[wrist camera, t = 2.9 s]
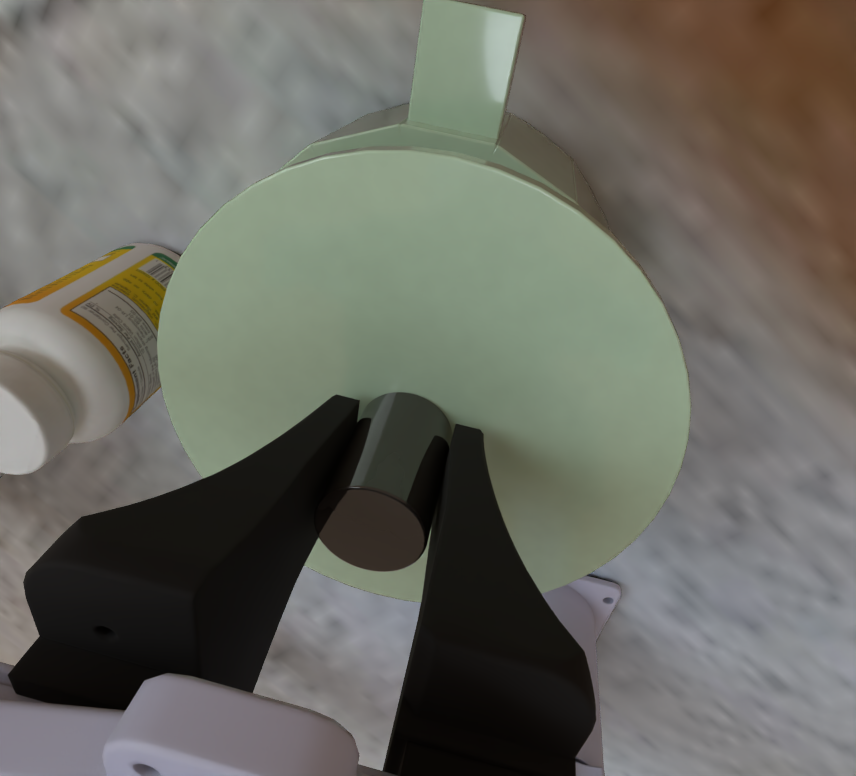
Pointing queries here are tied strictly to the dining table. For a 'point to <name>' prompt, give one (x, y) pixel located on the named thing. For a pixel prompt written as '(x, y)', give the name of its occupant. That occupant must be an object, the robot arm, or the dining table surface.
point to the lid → (431, 356)
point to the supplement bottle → (80, 354)
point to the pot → (466, 102)
